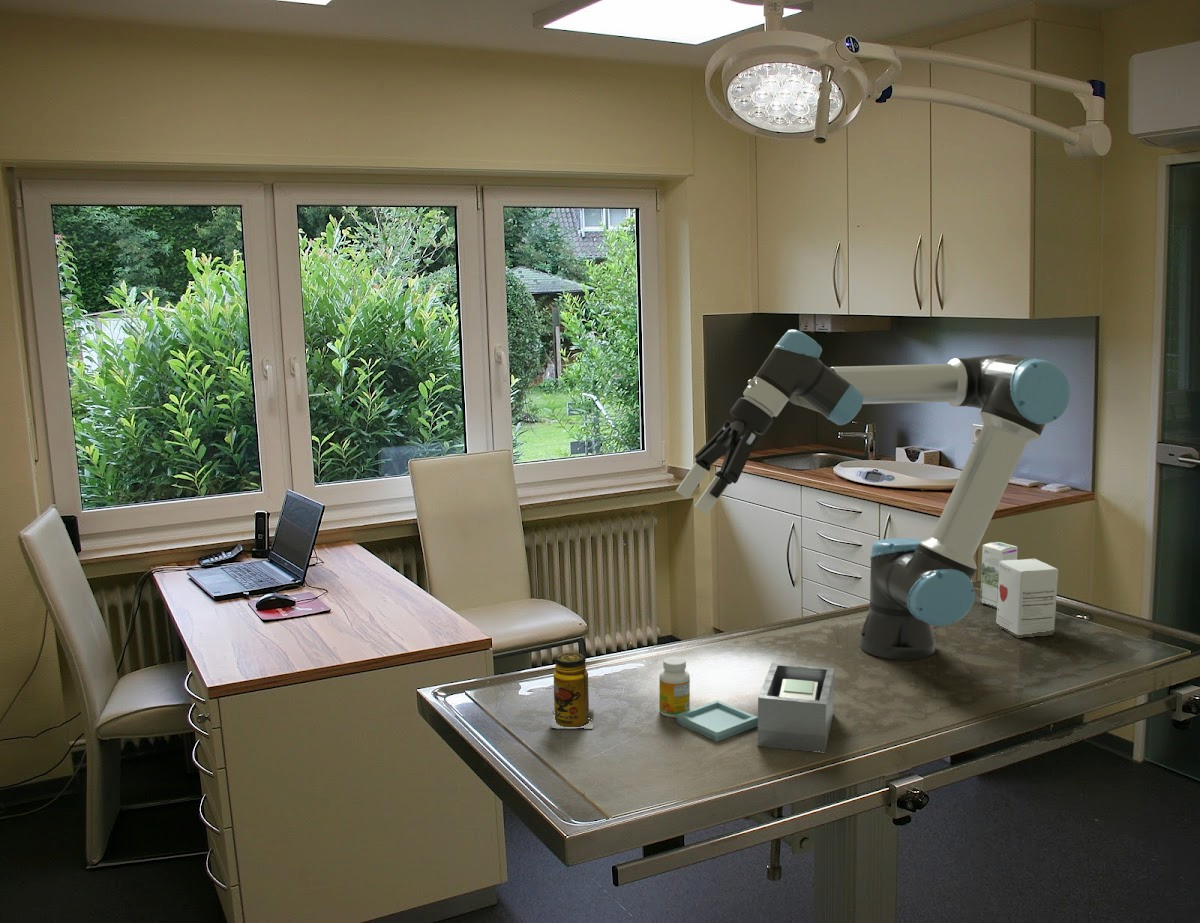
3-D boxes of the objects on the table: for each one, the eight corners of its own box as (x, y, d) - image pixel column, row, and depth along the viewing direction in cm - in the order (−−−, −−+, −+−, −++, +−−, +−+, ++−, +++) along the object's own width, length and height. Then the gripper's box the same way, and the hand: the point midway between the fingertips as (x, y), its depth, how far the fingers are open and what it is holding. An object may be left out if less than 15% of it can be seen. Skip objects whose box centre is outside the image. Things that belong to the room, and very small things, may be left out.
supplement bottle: (654, 708, 200) (654, 657, 198) (681, 704, 202) (681, 653, 200) (666, 720, 195) (666, 667, 193) (694, 715, 197) (694, 663, 195)
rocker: (780, 687, 195) (780, 677, 194) (820, 691, 193) (820, 681, 192) (773, 719, 187) (773, 709, 186) (814, 723, 185) (814, 713, 184)
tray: (717, 708, 200) (717, 700, 199) (758, 725, 192) (758, 717, 192) (676, 723, 194) (676, 714, 193) (717, 741, 186) (717, 732, 186)
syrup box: (1015, 606, 257) (1019, 545, 255) (998, 610, 254) (1001, 549, 252) (995, 600, 262) (999, 540, 260) (978, 604, 259) (981, 543, 257)
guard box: (771, 707, 200) (772, 662, 199) (833, 713, 197) (834, 668, 196) (757, 746, 184) (758, 697, 183) (824, 753, 181) (826, 704, 179)
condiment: (550, 730, 191) (549, 664, 189) (553, 710, 200) (552, 647, 198) (593, 729, 191) (592, 663, 189) (593, 710, 200) (593, 646, 197)
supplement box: (994, 625, 244) (997, 559, 241) (1031, 623, 245) (1035, 557, 243) (1016, 639, 235) (1020, 570, 232) (1055, 636, 237) (1059, 568, 234)
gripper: (722, 388, 213) (659, 478, 214) (764, 403, 189) (692, 505, 190) (752, 410, 215) (689, 499, 216) (797, 428, 191) (726, 528, 192)
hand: (690, 502), depth 203 cm, fingers open, 13 cm apart
